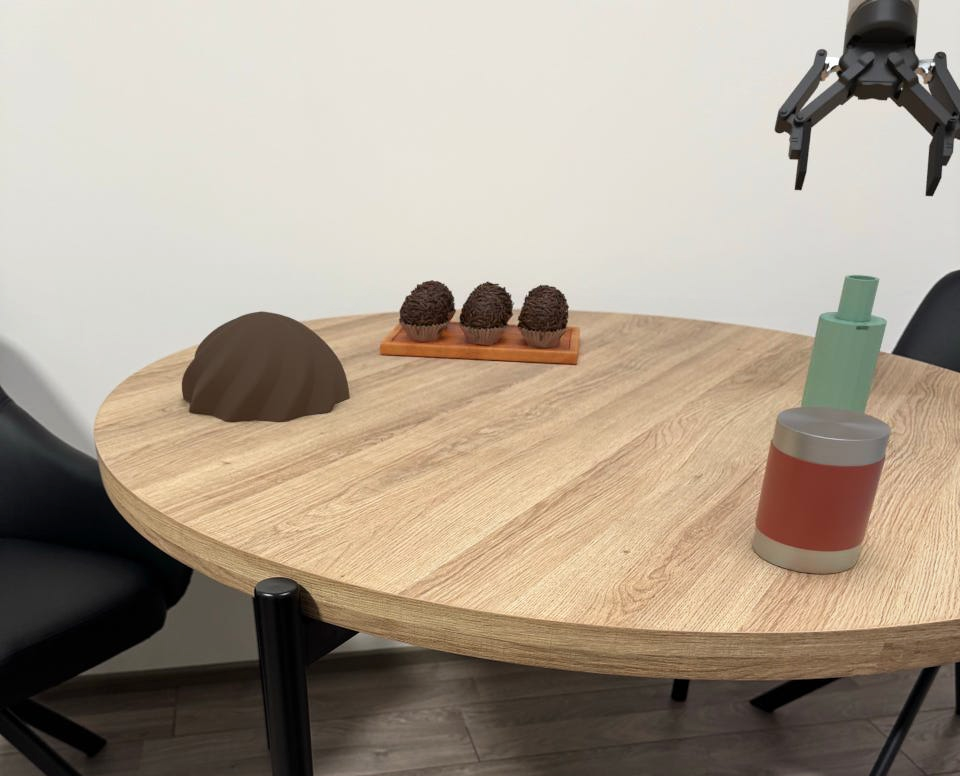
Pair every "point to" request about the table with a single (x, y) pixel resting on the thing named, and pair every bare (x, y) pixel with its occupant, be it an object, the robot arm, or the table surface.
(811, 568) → the can
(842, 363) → the bottle
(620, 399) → the table surface
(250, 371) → the decorative dome
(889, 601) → the table surface
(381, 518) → the table surface
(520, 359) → the chocolate truffle
